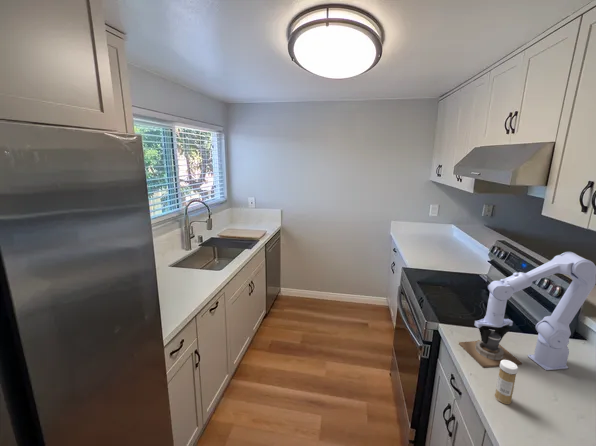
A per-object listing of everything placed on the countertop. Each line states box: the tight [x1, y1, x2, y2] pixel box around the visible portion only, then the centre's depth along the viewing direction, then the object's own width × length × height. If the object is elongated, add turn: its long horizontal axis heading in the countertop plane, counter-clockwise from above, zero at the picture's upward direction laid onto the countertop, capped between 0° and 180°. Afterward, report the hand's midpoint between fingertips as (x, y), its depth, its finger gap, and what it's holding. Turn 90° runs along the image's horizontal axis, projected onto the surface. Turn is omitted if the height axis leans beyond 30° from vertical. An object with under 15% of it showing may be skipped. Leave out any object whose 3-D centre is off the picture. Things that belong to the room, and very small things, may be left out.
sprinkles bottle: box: [494, 360, 519, 405], centre depth 91 cm, size 5×5×14 cm
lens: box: [483, 329, 502, 351], centre depth 112 cm, size 5×5×6 cm
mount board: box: [458, 339, 523, 368], centre depth 114 cm, size 16×14×3 cm
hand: (490, 341), depth 113 cm, fingers closed on lens, 5 cm apart
